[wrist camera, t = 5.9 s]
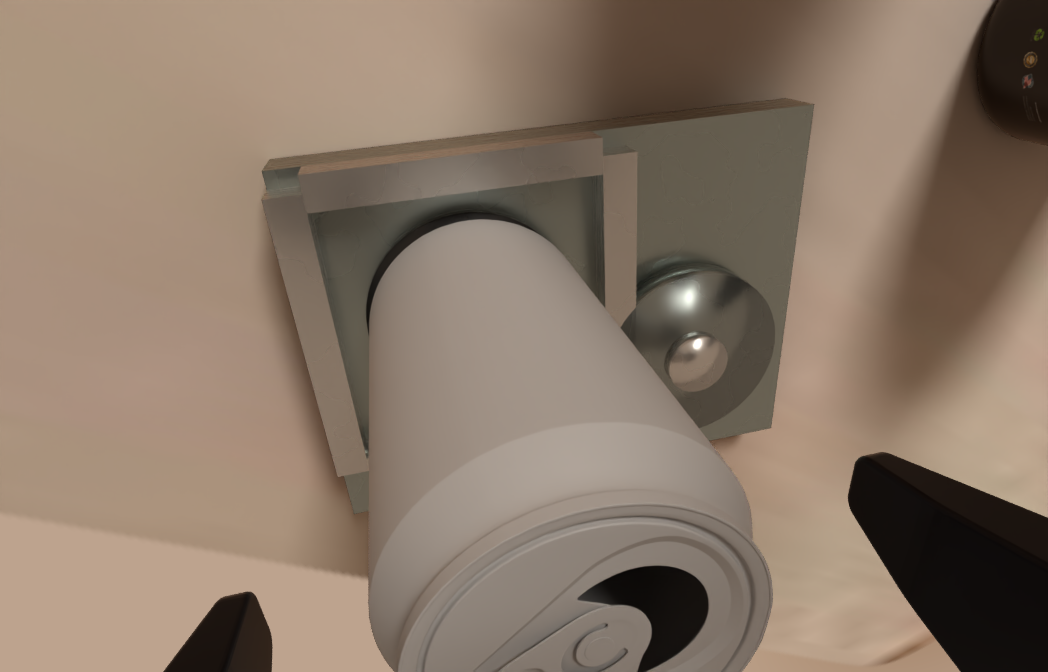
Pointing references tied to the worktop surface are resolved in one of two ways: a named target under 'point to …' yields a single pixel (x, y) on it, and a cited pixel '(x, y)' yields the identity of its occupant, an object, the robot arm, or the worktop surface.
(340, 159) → the grey flat piece
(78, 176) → the worktop surface
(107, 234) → the worktop surface
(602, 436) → the beverage can
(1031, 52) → the supplement bottle
